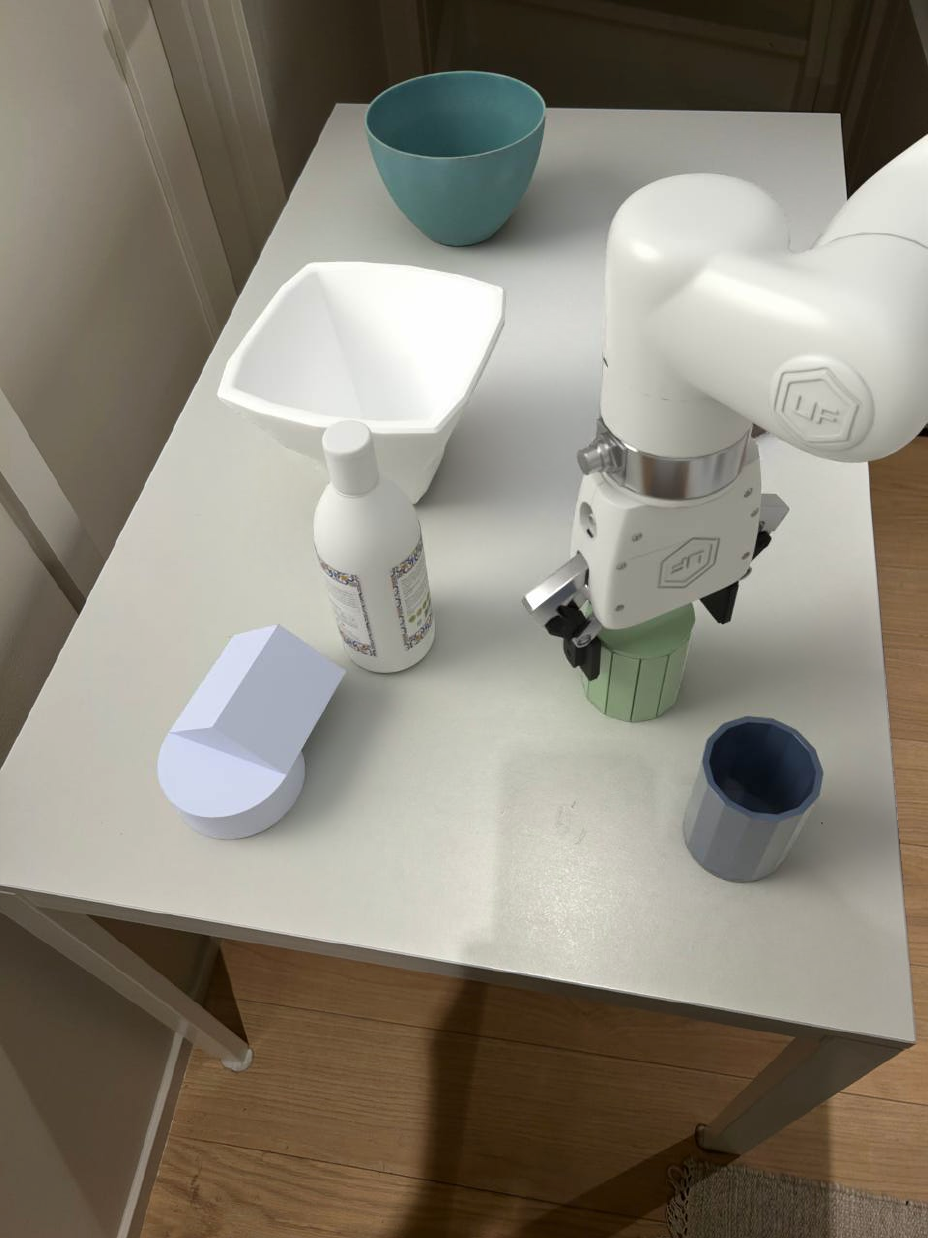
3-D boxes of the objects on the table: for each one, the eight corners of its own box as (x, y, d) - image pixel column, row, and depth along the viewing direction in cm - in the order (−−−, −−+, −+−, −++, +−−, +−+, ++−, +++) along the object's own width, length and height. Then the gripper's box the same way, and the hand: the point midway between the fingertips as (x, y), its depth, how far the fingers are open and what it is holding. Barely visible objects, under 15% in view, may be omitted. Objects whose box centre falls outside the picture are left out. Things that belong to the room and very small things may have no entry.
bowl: (525, 416, 83) (523, 278, 72) (459, 579, 72) (445, 446, 61) (333, 385, 87) (303, 249, 76) (244, 534, 77) (194, 402, 66)
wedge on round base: (245, 661, 69) (147, 812, 62) (221, 606, 64) (110, 765, 57) (353, 696, 67) (263, 858, 60) (337, 642, 61) (236, 813, 54)
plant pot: (538, 177, 108) (538, 63, 98) (551, 266, 97) (553, 148, 87) (382, 188, 108) (367, 76, 99) (378, 279, 97) (361, 163, 88)
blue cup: (794, 804, 60) (830, 734, 52) (777, 898, 56) (812, 837, 49) (695, 774, 61) (716, 702, 54) (672, 864, 58) (691, 800, 50)
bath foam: (429, 594, 72) (399, 387, 56) (442, 667, 68) (413, 467, 52) (340, 608, 71) (283, 405, 55) (347, 683, 67) (289, 486, 51)
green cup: (689, 655, 67) (705, 585, 60) (666, 733, 63) (681, 667, 57) (597, 630, 69) (604, 560, 62) (570, 705, 65) (574, 638, 59)
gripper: (555, 544, 43) (557, 731, 57) (862, 422, 47) (795, 627, 60) (488, 448, 48) (504, 643, 61) (773, 343, 51) (729, 551, 65)
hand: (648, 635), depth 61 cm, fingers open, 9 cm apart
